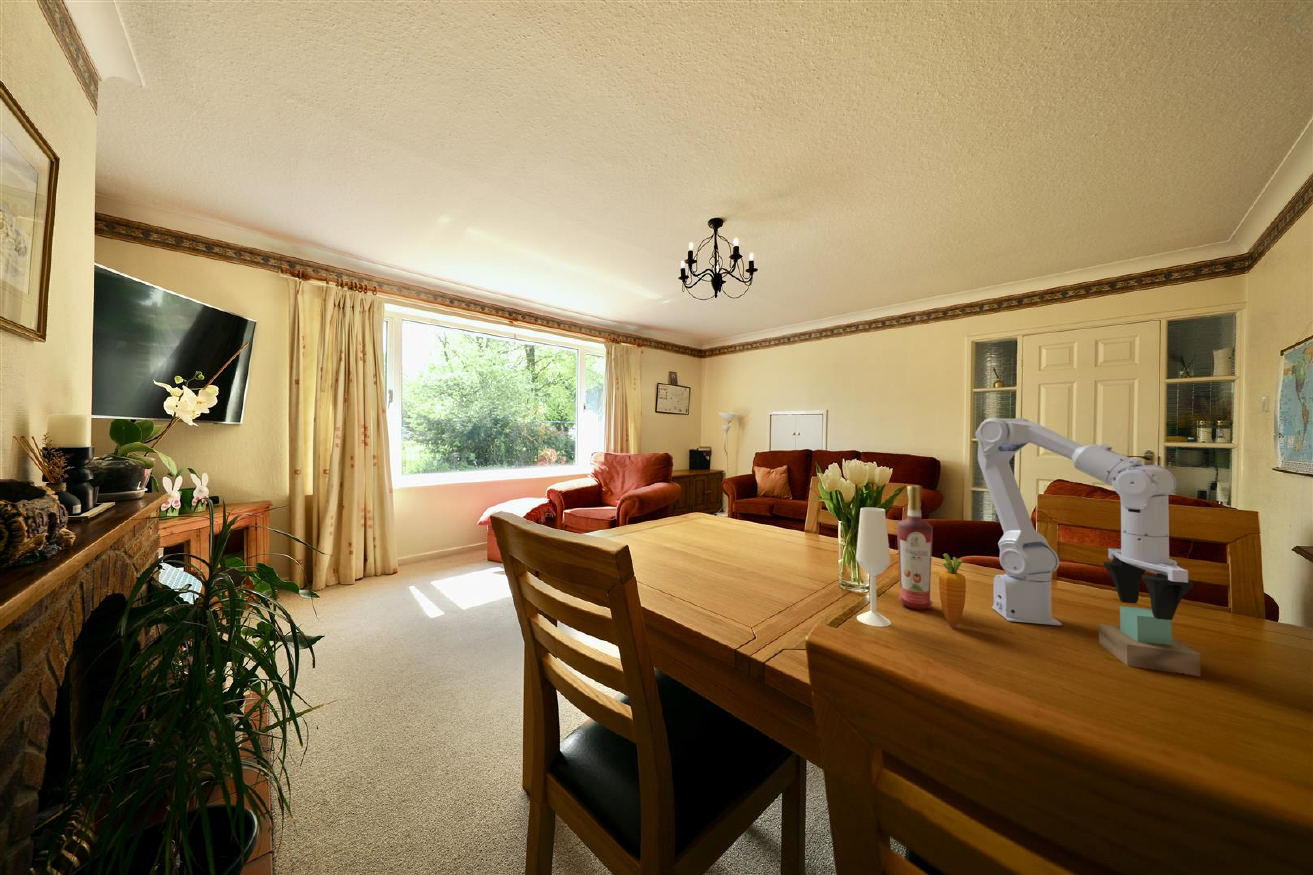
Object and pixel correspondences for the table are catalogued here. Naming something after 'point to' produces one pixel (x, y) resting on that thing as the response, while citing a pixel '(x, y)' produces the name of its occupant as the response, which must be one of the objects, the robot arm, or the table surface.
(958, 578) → the carrot
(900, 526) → the liquor
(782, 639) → the table surface
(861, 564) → the champagne flute
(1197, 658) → the walnut base block
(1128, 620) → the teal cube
